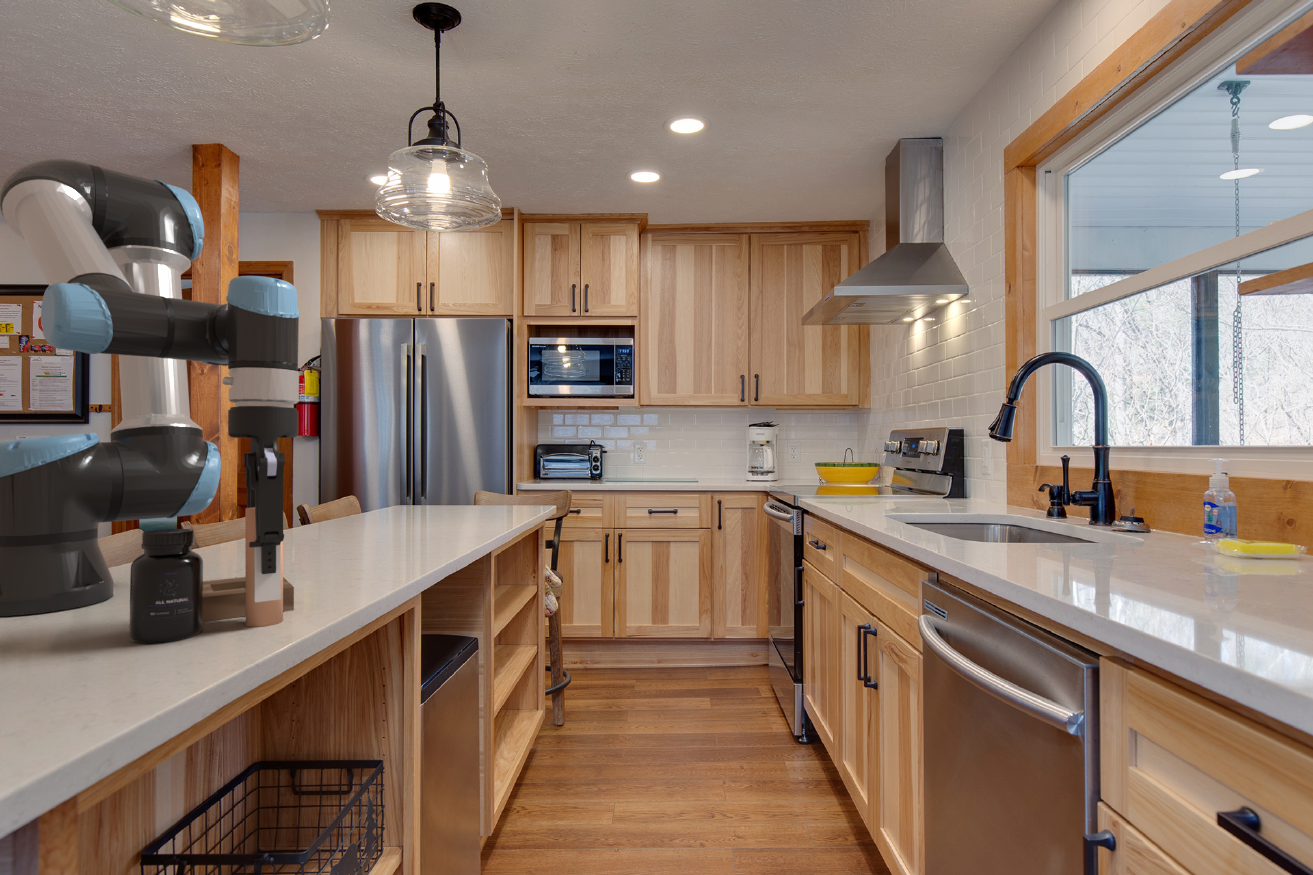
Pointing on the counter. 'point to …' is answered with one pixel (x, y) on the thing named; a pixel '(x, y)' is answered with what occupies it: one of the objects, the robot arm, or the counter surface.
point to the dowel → (255, 611)
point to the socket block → (233, 598)
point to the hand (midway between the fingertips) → (264, 595)
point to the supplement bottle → (166, 588)
